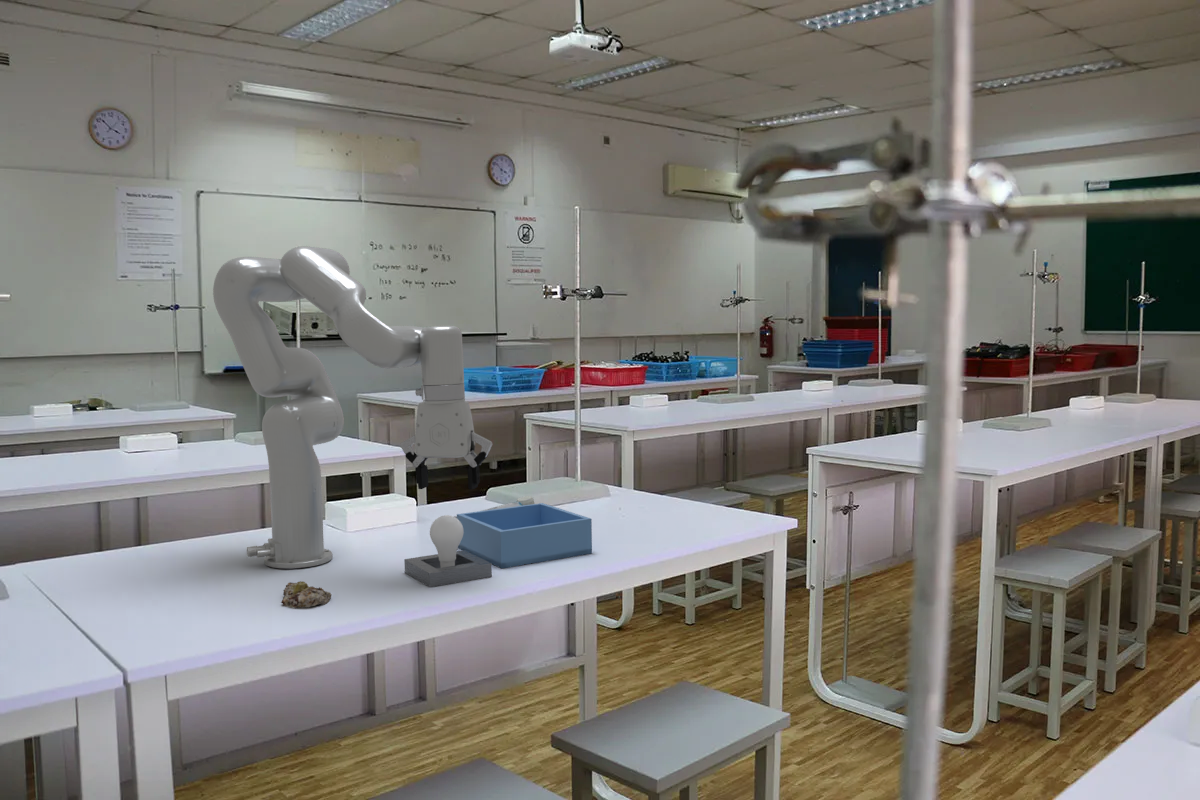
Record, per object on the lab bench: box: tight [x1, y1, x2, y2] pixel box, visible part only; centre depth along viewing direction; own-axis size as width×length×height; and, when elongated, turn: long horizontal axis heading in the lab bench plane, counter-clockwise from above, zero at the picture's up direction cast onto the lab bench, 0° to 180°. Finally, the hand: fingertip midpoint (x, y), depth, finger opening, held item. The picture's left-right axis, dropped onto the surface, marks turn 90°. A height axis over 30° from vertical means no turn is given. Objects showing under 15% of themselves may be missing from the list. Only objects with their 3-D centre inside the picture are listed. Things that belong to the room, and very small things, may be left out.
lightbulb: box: [429, 514, 464, 568], centre depth 175 cm, size 6×6×11 cm
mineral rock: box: [280, 581, 332, 609], centre depth 160 cm, size 11×4×8 cm
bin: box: [456, 502, 593, 569], centre depth 192 cm, size 20×20×7 cm
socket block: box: [404, 549, 493, 588], centre depth 175 cm, size 12×12×2 cm
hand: (448, 488), depth 173 cm, fingers open, 9 cm apart
